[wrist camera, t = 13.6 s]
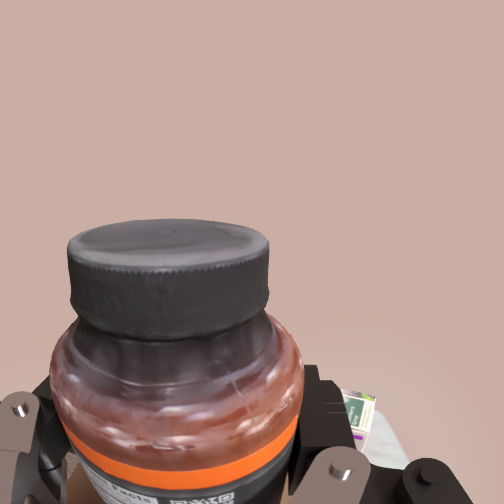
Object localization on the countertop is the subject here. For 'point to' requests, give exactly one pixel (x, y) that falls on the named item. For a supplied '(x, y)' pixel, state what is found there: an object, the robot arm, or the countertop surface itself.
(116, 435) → the supplement bottle
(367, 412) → the syrup box
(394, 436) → the countertop surface
